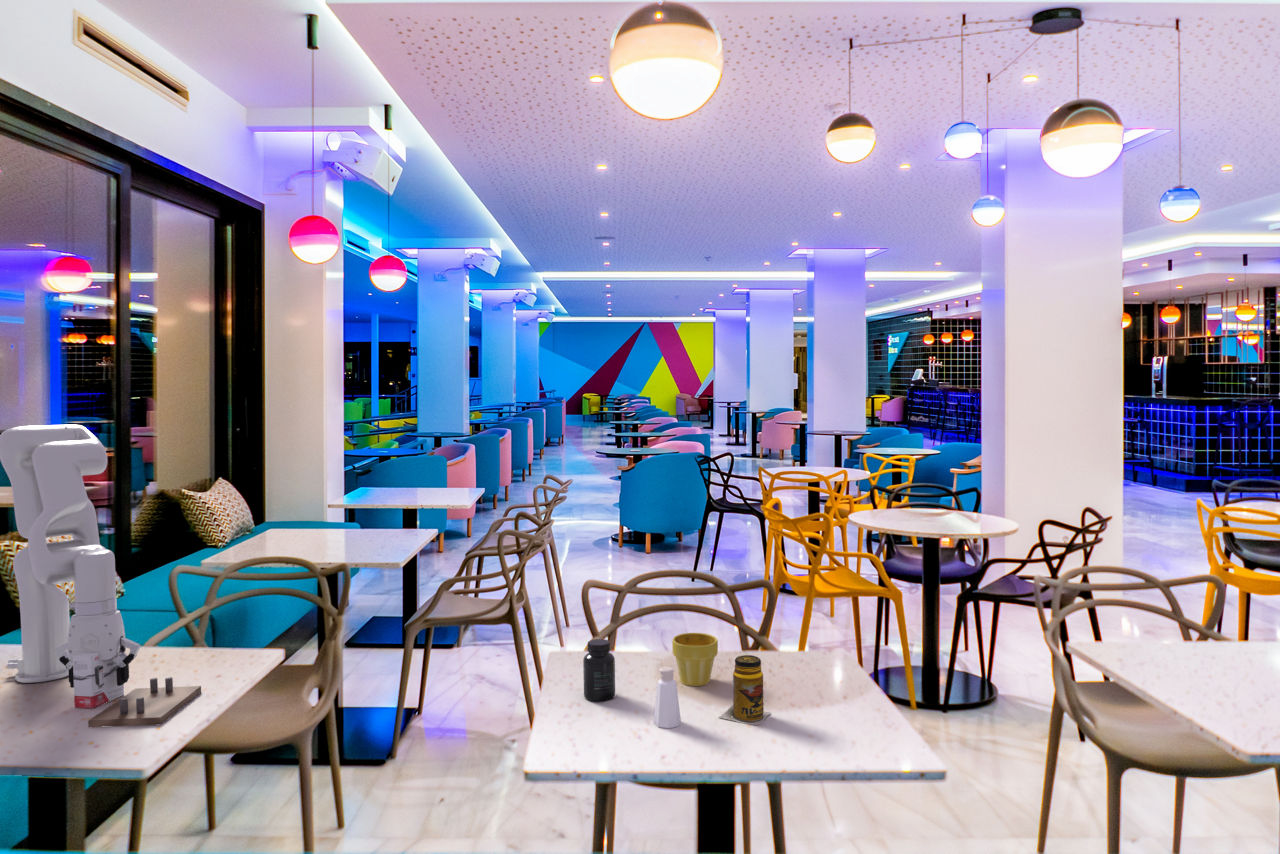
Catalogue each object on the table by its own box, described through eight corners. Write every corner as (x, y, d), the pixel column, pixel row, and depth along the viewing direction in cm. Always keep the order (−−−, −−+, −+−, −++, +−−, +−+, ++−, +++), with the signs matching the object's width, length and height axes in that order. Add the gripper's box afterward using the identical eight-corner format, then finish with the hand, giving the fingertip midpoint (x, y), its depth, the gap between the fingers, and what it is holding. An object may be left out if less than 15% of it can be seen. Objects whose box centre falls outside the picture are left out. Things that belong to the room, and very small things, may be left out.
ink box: (92, 709, 175) (90, 655, 175) (73, 708, 176) (71, 654, 176) (125, 695, 184) (123, 642, 183) (107, 693, 185) (105, 641, 184)
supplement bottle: (583, 691, 182) (582, 637, 181) (614, 690, 182) (613, 636, 182) (583, 703, 175) (582, 647, 174) (616, 701, 175) (615, 646, 175)
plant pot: (726, 685, 184) (725, 642, 184) (684, 692, 181) (683, 648, 180) (705, 671, 194) (705, 630, 194) (665, 677, 190) (665, 635, 190)
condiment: (757, 726, 162) (757, 666, 161) (718, 718, 166) (717, 659, 165) (770, 713, 168) (770, 655, 167) (732, 706, 172) (731, 649, 172)
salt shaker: (679, 717, 166) (679, 663, 166) (682, 728, 161) (681, 672, 161) (653, 718, 166) (652, 664, 166) (654, 729, 161) (653, 673, 160)
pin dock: (88, 727, 166) (87, 705, 165) (136, 695, 184) (135, 675, 183) (160, 724, 167) (160, 702, 167) (201, 692, 185) (200, 672, 184)
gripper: (43, 613, 175) (46, 692, 176) (128, 610, 176) (131, 689, 177) (65, 604, 182) (68, 680, 183) (146, 601, 184) (149, 677, 184)
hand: (99, 684), depth 180 cm, fingers open, 9 cm apart
